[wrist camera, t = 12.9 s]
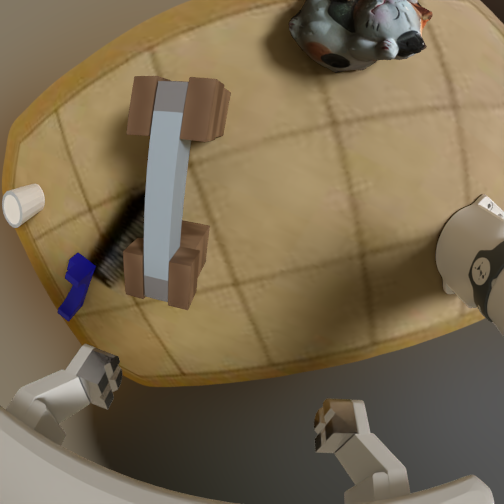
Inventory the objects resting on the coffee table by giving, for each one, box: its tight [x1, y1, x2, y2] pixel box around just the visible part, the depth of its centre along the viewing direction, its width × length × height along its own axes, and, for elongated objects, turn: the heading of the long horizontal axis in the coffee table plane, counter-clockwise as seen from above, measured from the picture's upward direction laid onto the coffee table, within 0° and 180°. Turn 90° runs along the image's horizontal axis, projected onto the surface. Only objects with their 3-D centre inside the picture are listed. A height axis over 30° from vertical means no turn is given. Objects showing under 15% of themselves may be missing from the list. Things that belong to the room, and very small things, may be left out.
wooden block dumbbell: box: [123, 76, 231, 310], centre depth 32 cm, size 8×25×12 cm, turn 170°
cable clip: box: [58, 253, 96, 321], centre depth 45 cm, size 12×4×6 cm, turn 144°
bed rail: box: [144, 81, 191, 302], centre depth 29 cm, size 3×24×4 cm, turn 170°
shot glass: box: [2, 184, 45, 228], centre depth 37 cm, size 7×7×7 cm
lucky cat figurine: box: [289, 0, 432, 73], centre depth 21 cm, size 15×12×14 cm
